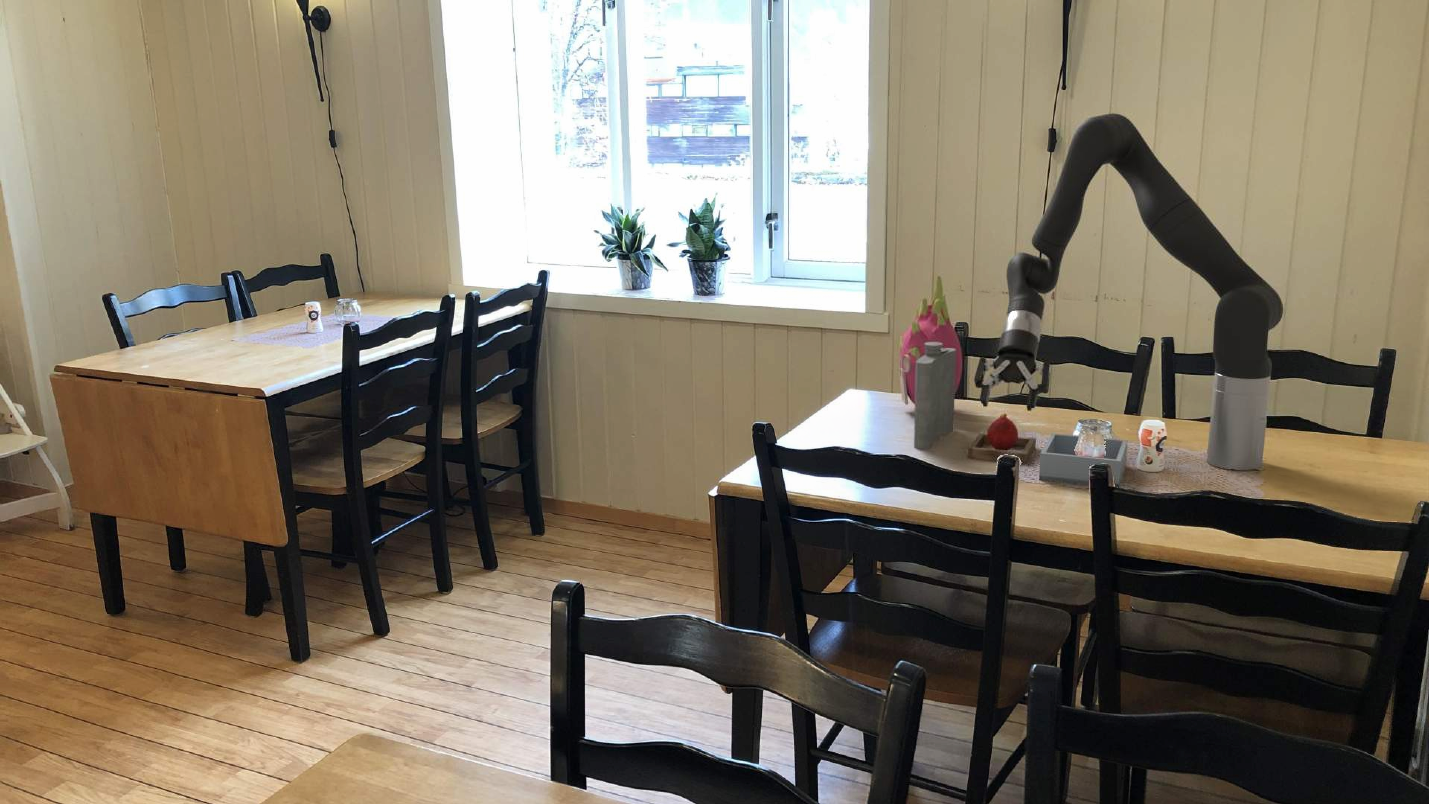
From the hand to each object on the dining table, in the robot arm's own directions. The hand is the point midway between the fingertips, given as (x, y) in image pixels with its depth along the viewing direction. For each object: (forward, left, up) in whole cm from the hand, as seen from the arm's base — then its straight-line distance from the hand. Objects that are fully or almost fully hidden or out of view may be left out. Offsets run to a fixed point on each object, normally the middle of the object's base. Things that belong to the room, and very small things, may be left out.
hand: (1006, 406), depth 215 cm
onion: (0, +4, -9) cm, 9 cm away
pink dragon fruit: (+21, -22, -9) cm, 32 cm away
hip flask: (+15, -1, -9) cm, 17 cm away
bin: (-16, +11, -8) cm, 21 cm away
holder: (0, +4, -8) cm, 9 cm away
